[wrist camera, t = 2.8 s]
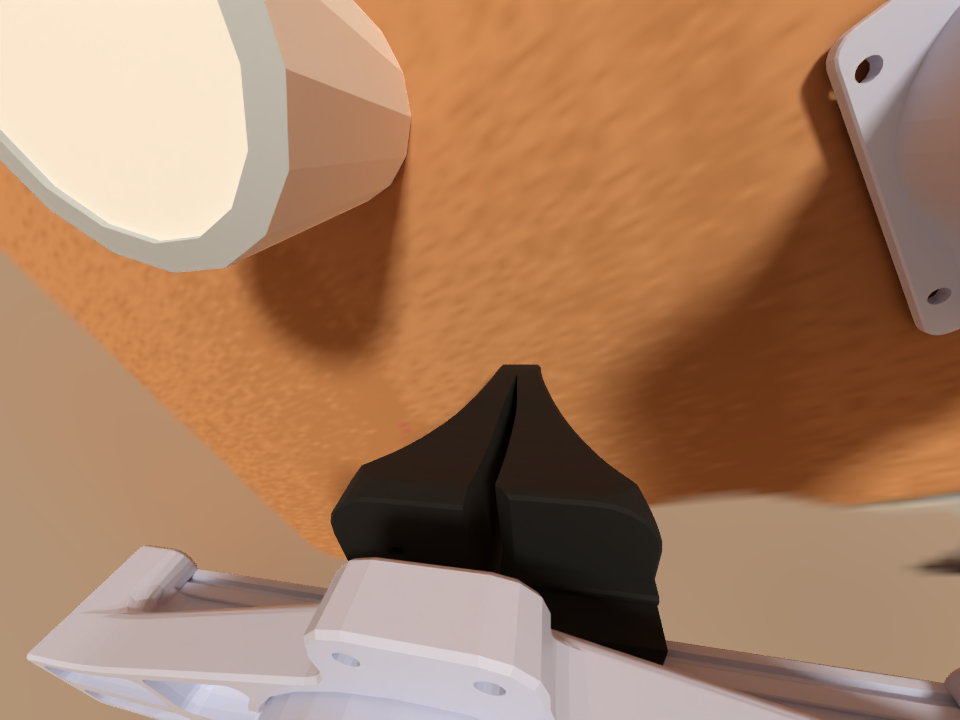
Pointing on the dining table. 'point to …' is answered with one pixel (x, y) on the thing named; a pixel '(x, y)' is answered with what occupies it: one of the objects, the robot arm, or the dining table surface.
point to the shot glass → (198, 120)
